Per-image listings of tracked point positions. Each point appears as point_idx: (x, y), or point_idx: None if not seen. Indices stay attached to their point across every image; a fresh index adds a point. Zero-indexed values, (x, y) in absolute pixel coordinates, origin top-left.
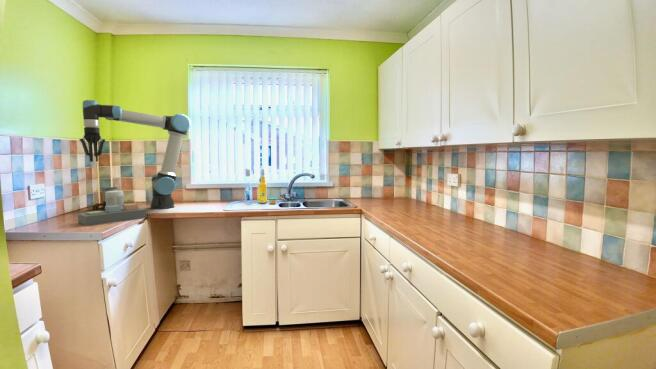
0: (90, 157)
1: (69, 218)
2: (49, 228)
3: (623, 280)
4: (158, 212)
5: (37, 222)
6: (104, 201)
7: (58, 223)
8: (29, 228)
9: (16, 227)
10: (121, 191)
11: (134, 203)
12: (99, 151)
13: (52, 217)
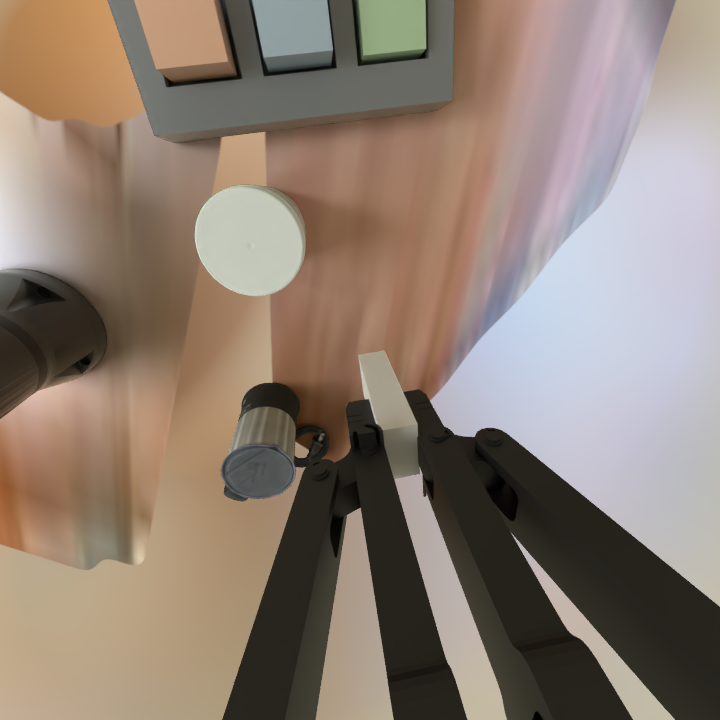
0: (439, 421)
1: (430, 280)
2: (555, 33)
3: None
4: (50, 151)
5: (527, 263)
6: (291, 417)
7: (491, 168)
8: (593, 117)
9: (604, 190)
10: (205, 204)
11: (148, 42)
12: (328, 509)
13: (463, 348)
